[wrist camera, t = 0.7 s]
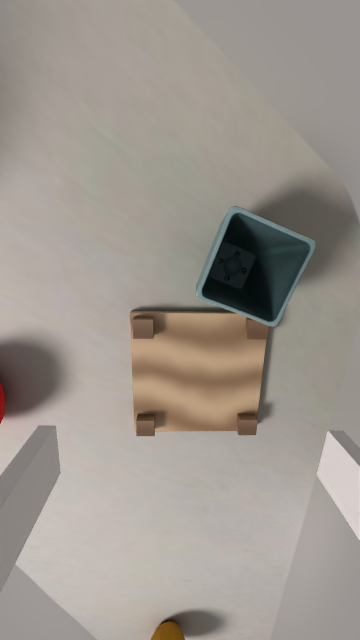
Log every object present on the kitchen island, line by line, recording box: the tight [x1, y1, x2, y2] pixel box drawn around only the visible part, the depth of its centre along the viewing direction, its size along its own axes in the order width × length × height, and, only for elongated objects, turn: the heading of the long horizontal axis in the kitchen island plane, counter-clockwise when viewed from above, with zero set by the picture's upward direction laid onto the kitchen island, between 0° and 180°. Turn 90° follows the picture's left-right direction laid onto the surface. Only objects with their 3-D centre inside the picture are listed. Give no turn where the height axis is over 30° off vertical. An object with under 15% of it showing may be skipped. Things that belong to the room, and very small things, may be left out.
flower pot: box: [196, 206, 316, 326], centre depth 27 cm, size 9×9×9 cm
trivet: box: [130, 311, 269, 436], centre depth 34 cm, size 18×18×3 cm
